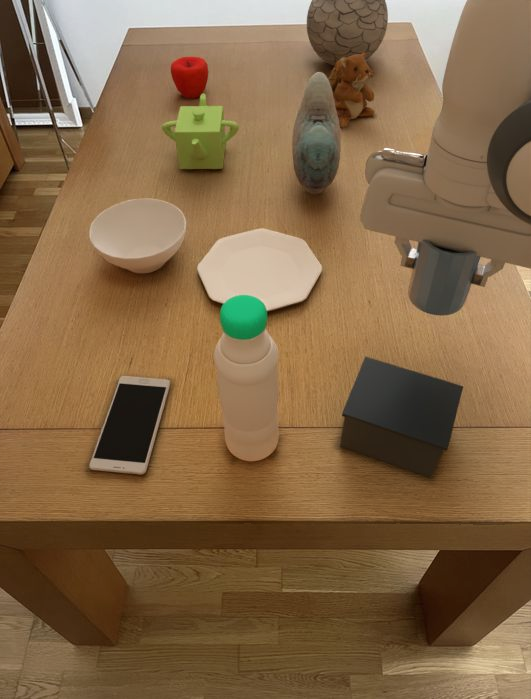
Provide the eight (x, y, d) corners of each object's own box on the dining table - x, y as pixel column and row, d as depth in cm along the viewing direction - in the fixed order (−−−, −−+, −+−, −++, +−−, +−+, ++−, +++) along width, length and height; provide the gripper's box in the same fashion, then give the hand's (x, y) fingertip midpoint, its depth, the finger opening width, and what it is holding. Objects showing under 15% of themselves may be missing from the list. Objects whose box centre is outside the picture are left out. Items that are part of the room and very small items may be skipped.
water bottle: (268, 470, 72) (264, 342, 53) (217, 454, 73) (195, 324, 54) (285, 426, 76) (288, 292, 57) (237, 411, 78) (224, 276, 58)
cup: (470, 284, 68) (490, 224, 61) (459, 322, 64) (479, 262, 57) (415, 270, 70) (429, 210, 63) (401, 306, 66) (414, 246, 59)
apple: (195, 82, 141) (192, 49, 135) (218, 94, 137) (215, 60, 131) (166, 94, 138) (161, 61, 132) (188, 106, 133) (184, 73, 127)
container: (448, 421, 76) (463, 386, 70) (433, 481, 70) (447, 448, 64) (358, 392, 79) (365, 356, 73) (336, 447, 74) (342, 413, 68)
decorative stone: (339, 220, 104) (349, 117, 89) (290, 219, 105) (292, 116, 89) (335, 159, 118) (344, 59, 102) (292, 158, 118) (294, 59, 103)
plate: (187, 252, 99) (186, 246, 98) (291, 226, 103) (291, 219, 102) (222, 330, 87) (221, 323, 86) (337, 296, 91) (338, 290, 90)
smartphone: (171, 379, 80) (144, 473, 71) (171, 381, 81) (145, 476, 71) (120, 374, 81) (86, 468, 71) (120, 377, 82) (88, 470, 72)
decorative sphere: (297, 76, 142) (299, -14, 127) (314, 44, 155) (317, -41, 139) (375, 85, 139) (387, -7, 123) (386, 51, 151) (398, -36, 136)
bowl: (80, 277, 96) (69, 245, 90) (129, 222, 105) (121, 190, 100) (164, 301, 92) (157, 268, 86) (206, 241, 101) (202, 209, 96)
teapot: (207, 134, 125) (202, 86, 117) (251, 156, 119) (250, 107, 111) (155, 163, 118) (146, 114, 110) (199, 187, 112) (193, 138, 104)
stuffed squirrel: (343, 130, 125) (348, 70, 115) (309, 104, 133) (311, 45, 123) (379, 119, 128) (388, 59, 118) (344, 94, 136) (349, 35, 126)
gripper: (358, 160, 55) (347, 267, 66) (584, 206, 49) (531, 315, 60) (377, 129, 59) (363, 235, 69) (588, 168, 53) (538, 278, 63)
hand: (443, 273), depth 64 cm, fingers closed on cup, 7 cm apart
